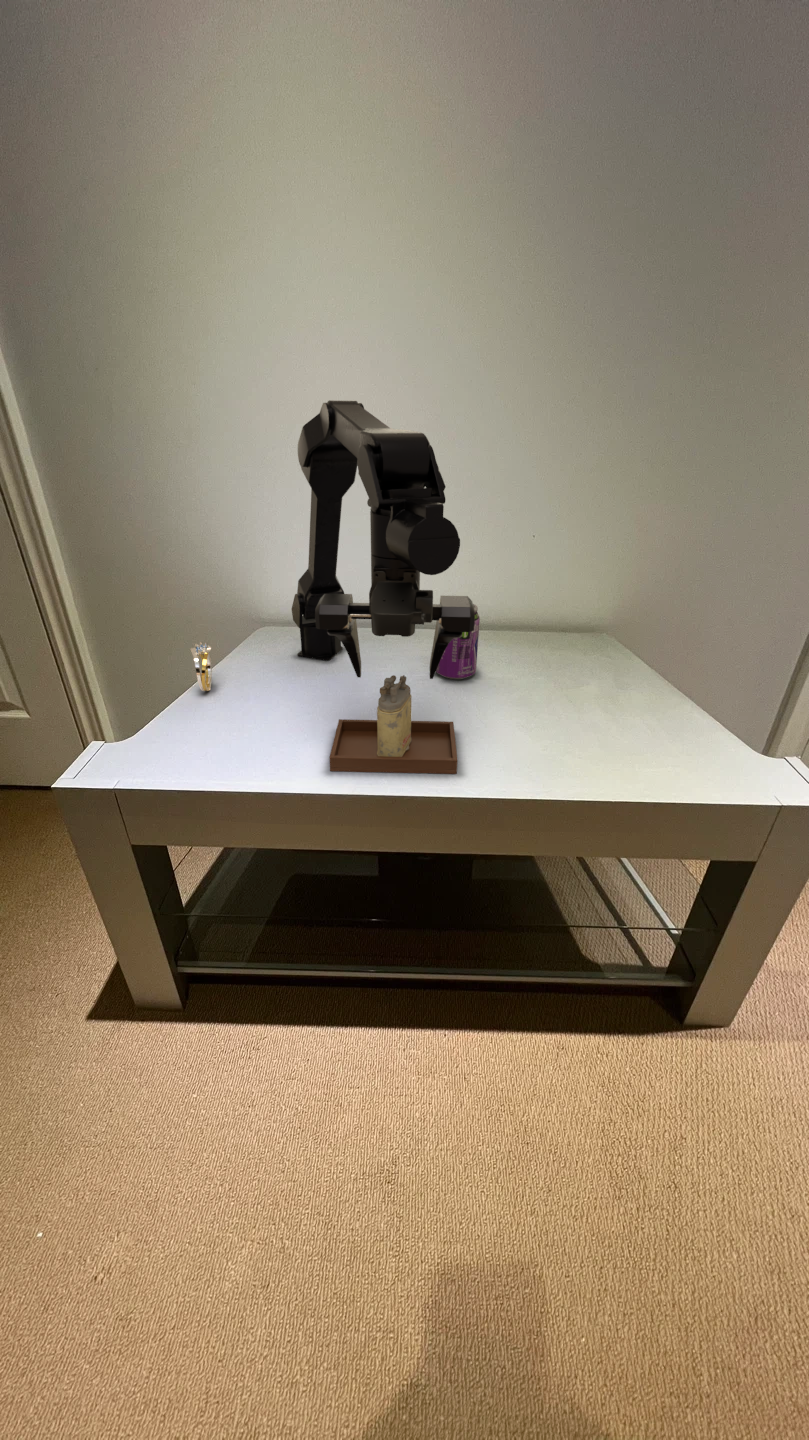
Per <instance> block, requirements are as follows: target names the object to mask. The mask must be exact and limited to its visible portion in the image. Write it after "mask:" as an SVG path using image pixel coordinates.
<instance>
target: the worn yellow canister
mask: <svg viewBox="0 0 809 1440" xmlns="http://www.w3.org/2000/svg"><path fill="white" fill-rule="evenodd" d="M396 681H397V676H396V675H394V674H393V675H391V676H390V677H385V678H384V681H383V686H381V687H380V688H379V694H380V697H379V698H378V700H377V704H378V705H377V707H376V720H377V735H378V751H377V755H378V756H386V757H402V756H403V754H404V753H405V751H408V750H409V744H410V742H411V721H412V702H413V701H412V700H413V699H412V697H413V696H412V693H411V691H412V689H411V687H410V685H409V684H407V676H406V675H405V674H403V675H401V676H399V681H398V682H396ZM395 682H396V683H395Z"/></svg>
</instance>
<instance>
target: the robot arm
mask: <svg viewBox="0 0 809 1440" xmlns="http://www.w3.org/2000/svg"><path fill="white" fill-rule="evenodd" d="M300 431H301V432H300V435H299V438H298V440H297V441H298V442H297V459H298V463H299V466H300V469H301V471H302V474H303V475H304V477H305V480H306V481H307V483H308V485H309V486H310V488H311V489H310V490H311V491H310V493H311V494H310V513H309V514H310V517H309V542H308V566H307V569H306V570H305V572H304V573H303V574H302V575H301V577H300V578H299V579H298V581H297V591H296V593H295V594H294V597H293V601H292V604H291V615H292V621H293V622H294V624H295V626H297V628H298V629H299V637H300V649H301V650H300V651H299V652H298V653H297V657H299V658H305V659H312V660H317V661H324V662H329V661H331V660H333V658H335V657H336V656H337V655H338V654H339V653H340V652H341V651H343V650H344V649H345V651H346V653H347V656H348V658H349V660H350V663H351V665H352V669H353V670H354V673H355V675H356V677H357V678H361V676H362V657H361V649H360V641H359V634H358V633H359V631H358V623H357V620H370V622H371V633H372V634H373V635H375V636H377V637H385V636H400V637H403V638H407V637H408V638H409V637H412V636H414V634H415V633H416V625H422V626H423V625H425V624H426V623H427V624H428V623H429V624H431V623H433V621H435V629H434V636H433V640H432V641H433V642H432V647H431V654H430V661H429V679H430V680H433V679H434V677H435V675H436V673H437V672H436V670H437V667H438V665H439V662H440V660H441V657H442V655H443V653H444V651H445V649H446V648H447V646H448V644H449V643H450V642H451V641H452V640H453V639H454V638H460V637H462V632H471V631H474V621H475V611H474V607H473V604H474V603H473V600H472V599H471V598H470V597H469V596H468V595H440V597H439V604H438V603H437V604H436V603H434V590H432V589H420V588H421V573H422V574H423V575H428V576H435V575H436V576H437V575H439V574H442V573H444V572H445V571H447V570H448V569H449V568H451V567H452V565H453V564H454V563H455V561H456V560H457V558H458V555H459V552H460V548H461V538H460V536H459V532H458V530H457V528H456V526H455V524H454V523H453V522H452V521H451V520H449V519H448V518H447V517H444V509H445V508H444V507H445V506H444V505H445V503H446V495H445V489H446V484H445V481H444V478H443V475H442V473H441V470H440V467H439V464H438V462H437V458H436V456H435V451H434V448H433V447H432V445H431V442H430V439H429V438H428V437H427V436H426V434H425V433H424V432H421V431H415V430H409V429H400V428H399V429H397V428H391V427H389V426H388V425H387V424H386V423H384V422H383V421H381V420H380V419H379V418H378V417H376V416H375V415H373V414H372V413H370V411H368V410H366V409H365V407H364V404H363V403H362V402H358V401H357V400H333V399H332V400H327V402H323V403H322V404H321V407H320V410H319V413H318V414H316V415H315V416H314V417H313V418H311V419H309V420H308V421H307V422H306V423H305V424H304V425H303V426H302V428H301V430H300ZM357 470H358V476H359V477H360V480H361V482H362V485H363V487H364V490H365V491H366V495H367V496H368V498H367V504H366V505H367V506H368V507H369V508H370V509H369V510H370V511H369V515H370V518H369V520H370V577H371V578H370V580H371V581H370V582H371V584H370V585H371V586H370V589H369V592H368V596H369V597H368V602H354V598H353V593H345V591H344V589H343V587H342V585H341V583H340V580H339V578H338V576H337V567H338V552H339V542H340V530H341V518H342V506H343V498H344V496H345V495H347V492H348V491H349V490H350V488H351V487H352V486H353V485H354V483H355V481H356V475H357ZM342 645H343V646H342ZM343 648H344V649H343Z"/></svg>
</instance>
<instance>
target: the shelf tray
mask: <svg viewBox="0 0 809 1440" xmlns="http://www.w3.org/2000/svg"><path fill="white" fill-rule="evenodd" d="M454 723H455V722H454V721H447V720H446V721H443V720H441V721H440V720H411V742H410V744H409V750H408V751H405V753H404V754H403V756H402V757H386V756H378V755H377V751H378V735H377V719H345V718H344V719H341V718H340V719H338V722H337V726H336V730H335V734H334V737H333V741H332V746H331V749H330V753H329V771H330V772H342V773H343V772H346V773H347V772H348V773H350V772H351V773H391V774H393V773H395V774H396V773H397V774H398V773H399V774H434V775H435V774H437V775H438V774H440V775H441V774H442V775H443V774H444V775H457V774H458V753H457V741H456V733H455V725H454Z"/></svg>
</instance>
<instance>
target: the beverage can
mask: <svg viewBox="0 0 809 1440" xmlns="http://www.w3.org/2000/svg"><path fill="white" fill-rule="evenodd" d="M473 607H474V611H475V621H474V631H471V632H462V637H460V638H454V639H453V640H452V641H451V642H450V643H449V644H448V646H447V648H446V649H445V651H444V653H443V655H442V657H441V660H440V662H439V665H438V667H437V670H436V672H435V673H437V674H438V675H440V676H442V677H444V678H445V679H450V680H464V679H466V678H468V677H472V676H473V675H475V674H476V672H477V664H478V663H477V662H478V650H479V649H478V648H479V636H480V623H481V622H480V620H481V618H480V615H479V612H478V610H479V607H478V605H476V604H474V603H473Z"/></svg>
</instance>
